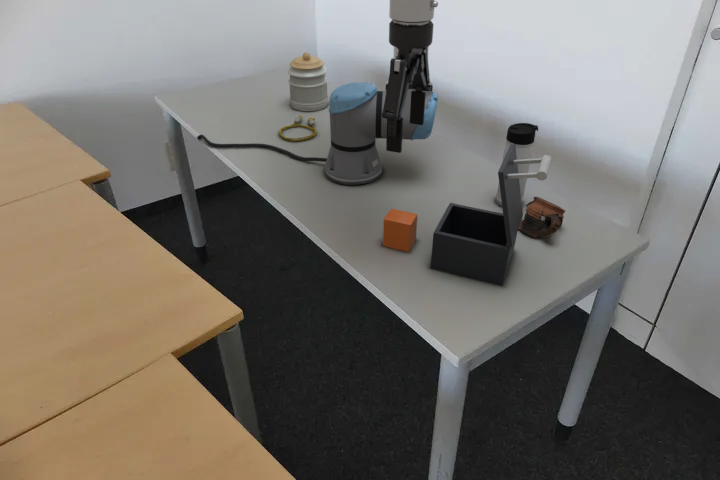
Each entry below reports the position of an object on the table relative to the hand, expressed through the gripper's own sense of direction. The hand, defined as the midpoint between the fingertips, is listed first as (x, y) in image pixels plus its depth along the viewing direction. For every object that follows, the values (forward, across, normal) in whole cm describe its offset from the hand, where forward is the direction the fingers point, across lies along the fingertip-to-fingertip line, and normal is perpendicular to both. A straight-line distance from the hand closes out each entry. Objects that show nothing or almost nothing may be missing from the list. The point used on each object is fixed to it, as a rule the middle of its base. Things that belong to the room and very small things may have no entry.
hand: (405, 136), depth 104 cm
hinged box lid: (+9, 0, -21) cm, 23 cm away
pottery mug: (+26, +17, -28) cm, 41 cm away
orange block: (+25, 0, 0) cm, 25 cm away
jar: (+25, +66, +56) cm, 90 cm away
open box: (+25, 0, -16) cm, 30 cm away
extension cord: (+25, +45, +48) cm, 70 cm away
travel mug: (+25, +27, -19) cm, 42 cm away
